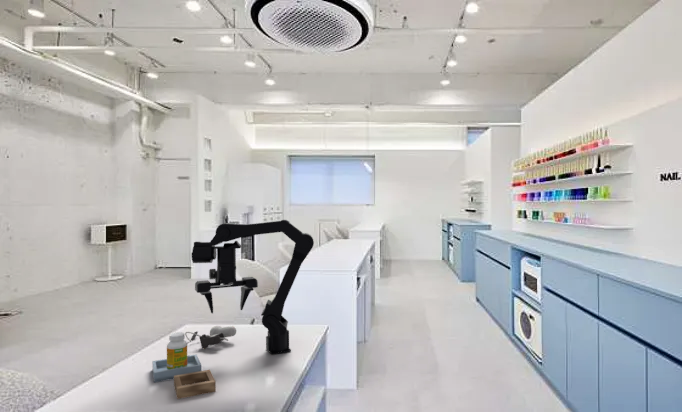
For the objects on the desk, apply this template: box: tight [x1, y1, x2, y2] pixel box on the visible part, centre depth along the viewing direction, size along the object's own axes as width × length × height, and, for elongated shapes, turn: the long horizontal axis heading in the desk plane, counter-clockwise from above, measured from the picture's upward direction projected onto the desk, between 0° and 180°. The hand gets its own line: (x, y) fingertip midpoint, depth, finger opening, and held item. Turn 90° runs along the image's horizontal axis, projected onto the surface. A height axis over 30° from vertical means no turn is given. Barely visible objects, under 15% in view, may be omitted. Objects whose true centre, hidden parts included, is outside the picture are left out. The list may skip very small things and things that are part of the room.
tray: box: [152, 354, 203, 383], centre depth 119 cm, size 12×10×2 cm
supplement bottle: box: [166, 331, 188, 370], centre depth 119 cm, size 5×5×10 cm
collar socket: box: [173, 369, 217, 400], centre depth 107 cm, size 9×9×2 cm
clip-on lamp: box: [184, 325, 237, 350], centre depth 145 cm, size 12×6×18 cm
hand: (226, 311), depth 135 cm, fingers open, 9 cm apart
